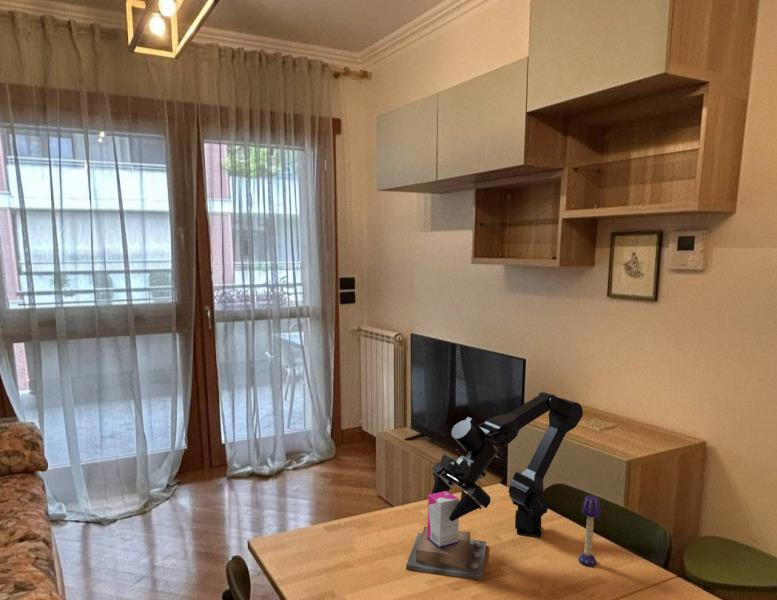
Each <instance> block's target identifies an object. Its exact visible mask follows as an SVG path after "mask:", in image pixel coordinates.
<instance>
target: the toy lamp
mask: <svg viewBox="0 0 777 600" xmlns="http://www.w3.org/2000/svg"><path fill="white" fill-rule="evenodd" d="M601 511H602V509H601V505H600V500H599V498H598V497H597V496H596V495H592V494H588V495H585V497H584V499H583V502H582V505H581V507H580V512H581V514H583V516H586V518H587V519H586V522H585V523H586V526H585V537H584V541H585V542H584V551H583V553H581V554H579V556H578V559H577V560H578V562H579V564H581V565H582V566H585V567H589V568H591V567H595V566H596V565H598V563H597V559H596V557H595V556H594V555H593V554H592V549H593V537H594V532H593V531H594V524H595V522H594V519H595V518H598V517H601V515H602V512H601Z"/></svg>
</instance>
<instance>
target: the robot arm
mask: <svg viewBox="0 0 777 600" xmlns="http://www.w3.org/2000/svg"><path fill="white" fill-rule="evenodd" d="M547 413H548V423H549V424H548V425H547V428H546V431H545V432H544V434H543V436H542V438H541V440H540V442H539V443H538V446H537V448H536V450H535V452H534V453H533V455H532V457H531V459H530V461H529V463H528V466H527V467H526V469H525V470H524V471H522V472H519V471H516V472H515V473H514V475H513V477H512V480H511V481H510V482H509V483H508V484H509V485H510V486H509V487H508V493H509V494H508V495H509V497H510V499H511V502H512V504H513V505H514V506H515V507H517V509H515V515H514V516H515V517H514V518H515V519H514V524H515V525H514V529H515V530H516V534H517V535H524V536H530V537H531V536H532V537H542V536H543V534H542V516H544V514H547V513H548V510H549V506H550V505H549V504H548V503H547V502H546V500H544V499H543V495H544V479H545V476H546V475H547V472H548V471H549V468H550V466H551V464H552V462H553V460H554V459H555V456H556V454H557V452H558V450H559V448H560V447H561V444H562V442H563V440H564V438H565V436H566V434H567V433H568V432H570V431H572V430H573V429H575V428H576V427H577V426H578V424H579V423H580V421H581V420H582V418H583V415H584V411H583V407H582V405H581V404H580V403H579V402H577V401H573V400H570V399H566V398H563V397H558V396H556V395H555V394H553V393H549V392H545V391H542V392H539V393H538V394H537V396H535V397H534V398H532V399H531V400H529V401H527V402H526V403H524V404H522V405H520V406H519V407H517V408H516V409H514V410H512V411H510V412H509V413H505V414H498V415H495V416H493V417H490V418H488V419H487V420H486V421H485V422H483V423H480V424H478V423H477V421H476V420H475V419H474V418H472V417H470V416H467V417H466V418H465V419H464V420H463V419H462V420H461V421H459V422H457V423H456V424H455V425H453V427H452V429H451V437H452V438H454V440H455V441H456V442H457V443H458V444H459V445H460V446H461V447H462V448H463V450H464V451H466V452H468V453H467V454H466V455H465V456H464V455H461V456H459V457H458V458H456V457H453V456H451V455H448V454H445V453H442V456H441V459H440V460H439V462H438V463H437V462H436V463H435V464H433V466H432V467H431V471H432V475H433V479H434V483H433V487H432V491H431V493H430V494H434V493H439V492H443V491H447V492H449V491H450V490H452V487H451V486H454V485H455V486H457V487H458V488H459V489H461V493H460V494H461V495H460V499H459V503H458V504H457V506H456V507H455V509H454V510H453V512H452V514H451V515H450V517H449V519H450V520H451V521H454V520H456V519H458V518H459V519H460V518H461V517H463V516H465V515H467V514H470V513H471V512H474V511H476V510H478V509H479V510H481V509H483V508H484V509H487V508H488V507H489V505H490V504H491V500H492V499H491V496H490V495H489V494H488V493H487V492H486V491H485V489H483V488H482V487H481V486H479V485H478V484H476V483H477V482H478V480H479V478H480V477H482V478H485V477H486V475H487V474H486V472H485V470H486V469H487V468H488V466H489V465H490V463H491V462H492V461H493V459H494V458H495V457H496V458H497V459H498V460H502V458H503V457H502V455H503V454H502V450H501V449H502V447H503V446H504V447H505V446H507V445H509V444H510V443H512V441H514V439H516V438H517V437H518V434H519V432H520V430H521V429H523V428H524V427H526V426H527V425H529V424H530V423H532V422H533V421H535V420H536V419H538V418H540V417H542V416H543V415H545V414H547ZM486 439H487V440H486ZM489 440H490V441H489ZM492 442H494V443H496V444H498V445H500V446H502V447H499V446H498V445H494V444H493V443H492Z"/></svg>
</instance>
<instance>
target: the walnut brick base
mask: <svg viewBox="0 0 777 600" xmlns="http://www.w3.org/2000/svg"><path fill="white" fill-rule="evenodd" d="M427 533H428V526H424V527H423V529H422V532H418V533H417V535H416V538H415V540H414V544H413V546H412V548H411V550H410V554H409V556H408V559H407V562H406V564H405V569H406V570H411V571H418V572H424V573H430V574H431V573H432V574H437V575H442V576H443V575H444V576H445V575H446V576H449V577H451V576H452V577H458V578H466V579H473V580H477V581H478V580H479V581H482V580H483V577H484V576H483V575H484V566H485V559H486V551H487V550H486V549H487V541H483V540H479V539H478V540H477V539H471V532H470V531H465V530H458V543H457V544H455V545H451V546H447V547H444V548H440V549H439V548H438V547H437V546H436V545H434V544H433V543H432V542H431V541H429V540H428V539H427Z"/></svg>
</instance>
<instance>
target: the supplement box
mask: <svg viewBox="0 0 777 600" xmlns="http://www.w3.org/2000/svg"><path fill="white" fill-rule="evenodd" d="M427 495H428V497H427V498H428V502H427V505H428V507H427V527H428V533H427V539H428V540H429V541H431V542H432V543H433V544H434V545H436V546H437V547H438V548H439V549H440V548H444V547H447V546H451V545H455V544H457V543H458V531H459V521H460V520H459V519H460V518H458V519H456V520H454V521H451V520H450V519H449V517H450V515H451V514H452V512H453V510H454V509H455V507H456V506H457V504H458V503H459V501H460V499H459V498H458V497H457V496H455V495H454V494H452V493H450V492H449V491H448V492H447V491H443V492H439V493H434V494H431V493H430V494H427Z"/></svg>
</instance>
